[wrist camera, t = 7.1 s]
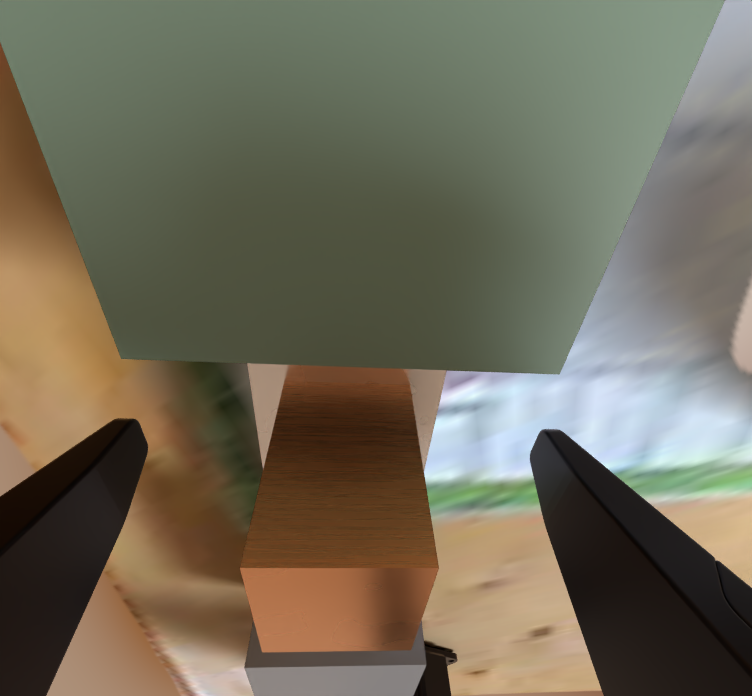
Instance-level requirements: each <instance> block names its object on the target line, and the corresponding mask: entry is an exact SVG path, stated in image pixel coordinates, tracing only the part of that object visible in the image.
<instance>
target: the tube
mask: <svg viewBox="0 0 752 696" xmlns="http://www.w3.org/2000/svg"><path fill="white" fill-rule="evenodd" d="M247 366H248V373H249V379H250V386H251V393H252V399H253V406H254V412H255V419H256V426H257V432H258V439H259V446H260V452H261V459H262V466H263V473H262V477H261V481H260V485H259V490H258V494H257V498H256V502H255V506H254V511H253V515H252V519H251V523H250V527H249V532H248V536H247V540H246V544H245V548H244V553H243V557H242V561H241V565H240V571H241V574H242V578H243V582H244V586H245V589H246V593H247V597H248V601H249V605H250V608H251V612H252V616H253V620H254V623H255V627H256V631H257V635H258V638H259V642H260V646H261V650H262V652H329V651H400V650H411V649H412V646H413V643H414V640H415V637H416V634H417V631H418V629H419V626H420V623H421V620H422V617H423V614H424V611H425V608H426V605H427V602H428V599H429V596H430V593H431V590H432V587H433V584H434V581H435V578H436V575H437V572H438V569H439V566H438V560H437V553H436V547H435V540H434V534H433V528H432V521H431V515H430V508H429V502H428V496H427V489H426V483H425V477H424V468H425V464H426V460H427V455H428V451H429V446H430V442H431V437H432V433H433V429H434V424H435V420H436V415H437V411H438V406H439V402H440V398H441V393H442V389H443V384H444V380H445V375H446V371H447V370H421V369H393V368H365V367H336V366H308V365H279V364H251V363H247Z"/></svg>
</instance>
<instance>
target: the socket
mask: <svg viewBox="0 0 752 696" xmlns="http://www.w3.org/2000/svg"><path fill="white" fill-rule="evenodd" d="M724 1H725V0H0V43H1V45H2V48H3V51H4V53H5V56H6V59H7V61H8V64H9V66H10V69H11V72H12V74H13V77H14V79H15V82H16V85H17V87H18V90H19V93H20V95H21V98H22V100H23V103H24V106H25V108H26V111H27V113H28V116H29V119H30V121H31V124H32V127H33V129H34V132H35V134H36V137H37V140H38V142H39V145H40V147H41V150H42V153H43V155H44V158H45V161H46V163H47V166H48V168H49V171H50V174H51V176H52V179H53V181H54V184H55V187H56V189H57V192H58V195H59V197H60V200H61V202H62V205H63V208H64V210H65V213H66V215H67V218H68V221H69V223H70V226H71V229H72V231H73V234H74V236H75V239H76V242H77V244H78V247H79V249H80V252H81V255H82V257H83V260H84V263H85V265H86V268H87V270H88V273H89V276H90V278H91V281H92V283H93V286H94V289H95V291H96V294H97V297H98V299H99V302H100V304H101V307H102V310H103V312H104V315H105V317H106V320H107V323H108V325H109V328H110V331H111V333H112V336H113V338H114V341H115V344H116V346H117V349H118V351H119V354H120V357H121V359H137V360H166V361H194V362H223V363H251V364H279V365H308V366H336V367H365V368H393V369H421V370H450V371H478V372H507V373H535V374H560V372H561V370H562V367H563V365H564V363H565V361H566V358H567V356H568V354H569V352H570V349H571V347H572V345H573V343H574V340H575V338H576V336H577V334H578V331H579V329H580V327H581V325H582V322H583V320H584V318H585V315H586V313H587V311H588V309H589V306H590V304H591V302H592V300H593V297H594V295H595V293H596V291H597V288H598V286H599V284H600V282H601V279H602V277H603V275H604V273H605V270H606V268H607V266H608V263H609V261H610V259H611V257H612V254H613V252H614V250H615V248H616V245H617V243H618V241H619V239H620V236H621V234H622V232H623V230H624V227H625V225H626V223H627V221H628V218H629V216H630V214H631V211H632V209H633V207H634V205H635V202H636V200H637V198H638V196H639V193H640V191H641V189H642V187H643V184H644V182H645V180H646V178H647V175H648V173H649V171H650V169H651V166H652V164H653V162H654V160H655V157H656V155H657V153H658V150H659V148H660V146H661V144H662V141H663V139H664V137H665V135H666V132H667V130H668V128H669V126H670V123H671V121H672V119H673V117H674V114H675V112H676V110H677V108H678V105H679V103H680V101H681V98H682V96H683V94H684V92H685V89H686V87H687V85H688V83H689V80H690V78H691V76H692V74H693V71H694V69H695V67H696V65H697V62H698V60H699V58H700V56H701V53H702V51H703V49H704V47H705V44H706V42H707V40H708V37H709V35H710V33H711V31H712V28H713V26H714V24H715V22H716V19H717V17H718V15H719V13H720V10H721V8H722V6H723V4H724Z"/></svg>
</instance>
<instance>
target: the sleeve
mask: <svg viewBox="0 0 752 696" xmlns="http://www.w3.org/2000/svg"><path fill="white" fill-rule="evenodd" d="M425 667H426V657H425V648H424V639H423V630H422V620H421V623H420V626H419V629H418V631H417V634H416V637H415V640H414V643H413V646H412V649H411V650H400V651H329V652H262V650H261V646H260V642H259V638H258V635H257V631H256V627H255V623H254V620H253V625H252V631H251V636H250V641H249V646H248V651H247V657H246V662H245V667H244V668H245V671H246V674H247V677H248V679H249V682H250V685H251V688H252V690H253V693H254V696H413V695H414V693H415V691H416V688H417V686H418V684H419V681H420V679H421V676H422V674H423V672H424V669H425Z"/></svg>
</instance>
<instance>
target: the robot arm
mask: <svg viewBox="0 0 752 696" xmlns="http://www.w3.org/2000/svg"><path fill="white" fill-rule="evenodd" d="M147 452H148V444H147V441H146V439H145V436H144V434H143V431H142V428H141V426H140V423H139V422H138V421H137V420H136V419H124V418H118V419H114V420H112V421H111V422H109V423H108V424H106V425H105V426H103V427H102V428H100V429H99V430H97V431H96V432H95V433H93V434H92V435H90V436H89V437H87V438H86V439H84V440H83V441H81V442H80V443H78V444H77V445H75V446H74V447H72V448H71V449H69V450H68V451H67V452H65V453H64V454H62V455H61V456H59V457H58V458H56V459H55V460H53V461H52V462H50V463H49V464H47V465H46V466H44V467H43V468H41V469H40V470H39V471H37V472H36V473H34V474H33V475H31V476H30V477H28V478H27V479H25V480H24V481H22V482H21V483H19V484H18V485H16V486H15V487H14V488H12V489H11V490H9V491H8V492H6V493H5V494H3V495H2V496H0V696H46V695H47V693H48V690H49V688H50V686H51V684H52V682H53V679H54V677H55V675H56V673H57V671H58V668H59V666H60V664H61V662H62V660H63V657H64V655H65V653H66V651H67V649H68V646H69V644H70V642H71V640H72V638H73V635H74V633H75V631H76V629H77V627H78V624H79V622H80V620H81V618H82V615H83V613H84V611H85V609H86V607H87V604H88V602H89V600H90V598H91V596H92V593H93V591H94V589H95V587H96V585H97V582H98V580H99V578H100V576H101V574H102V571H103V569H104V567H105V565H106V563H107V560H108V558H109V556H110V554H111V552H112V549H113V547H114V545H115V543H116V540H117V538H118V536H119V534H120V532H121V529H122V527H123V524H124V522H125V520H126V517H127V514H128V511H129V508H130V505H131V502H132V499H133V496H134V493H135V490H136V487H137V484H138V481H139V478H140V475H141V472H142V469H143V466H144V463H145V459H146V456H147ZM530 463H531V467H532V472H533V476H534V480H535V485H536V489H537V493H538V498H539V502H540V506H541V511H542V515H543V519H544V523H545V526H546V529H547V532H548V536H549V539H550V541H551V544H552V547H553V550H554V553H555V556H556V559H557V562H558V565H559V567H560V570H561V573H562V576H563V579H564V582H565V585H566V588H567V591H568V594H569V596H570V599H571V602H572V605H573V608H574V611H575V614H576V617H577V620H578V623H579V625H580V628H581V631H582V634H583V637H584V640H585V643H586V646H587V649H588V652H589V654H590V657H591V660H592V663H593V666H594V669H595V672H596V675H597V678H598V680H599V683H600V686H601V689H602V692H603V695H604V696H752V588H751V587H750V586H749V585H748V584H746V583H745V582H744V581H743V580H741V579H740V578H739V577H738V576H736V575H735V574H734V573H733V572H732V571H730V570H729V569H728V568H727V567H726V566H724V565H723V564H722V563H721V562H720V561H715V558H714V557H713V556H712V555H711V554H710V553H708V552H707V551H706V550H705V549H704V548H702V547H701V546H700V545H699V544H698V543H696V542H695V541H694V540H693V539H692V538H690V537H689V536H688V535H687V534H686V533H684V532H683V531H682V530H681V529H680V528H678V527H677V526H676V525H675V524H674V523H672V522H671V521H670V520H669V519H667V518H666V517H665V516H664V515H663V514H661V513H660V512H659V511H658V510H657V509H655V508H654V507H653V506H652V505H651V504H649V503H648V502H647V501H646V500H645V499H643V498H642V497H641V496H640V495H639V494H637V493H636V492H635V491H634V490H633V489H631V488H630V487H629V486H628V485H626V484H625V483H624V482H623V481H622V480H620V479H619V478H618V477H617V476H616V475H614V474H613V473H612V472H611V471H610V470H608V469H607V468H606V467H605V466H604V465H602V464H601V463H600V462H599V461H598V460H596V459H595V458H594V457H593V456H591V455H590V454H589V453H588V452H587V451H585V450H584V449H583V448H582V447H581V446H579V445H578V444H577V443H576V442H575V441H573V440H572V439H571V438H570V437H569V436H567V435H566V434H565V433H564V432H562V431H561V430H557V429H543V430H542V431H540V433H539V435H538V437H537V439H536V441H535V443H534V446H533V448H532V450H531V453H530ZM424 648H425V657H426V667H425V669H424V672H423V674H422V676H421V679H420V681H419V684H418V686H417V688H416V691H415V693H414V695H413V696H451V691H450V684H449V677H448V670H447V666H448V665H450V664H453V663H455V662H457V654H455V653H452V652H448V651H444V650H440V649H436V648H431V647H427V646H424Z"/></svg>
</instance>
